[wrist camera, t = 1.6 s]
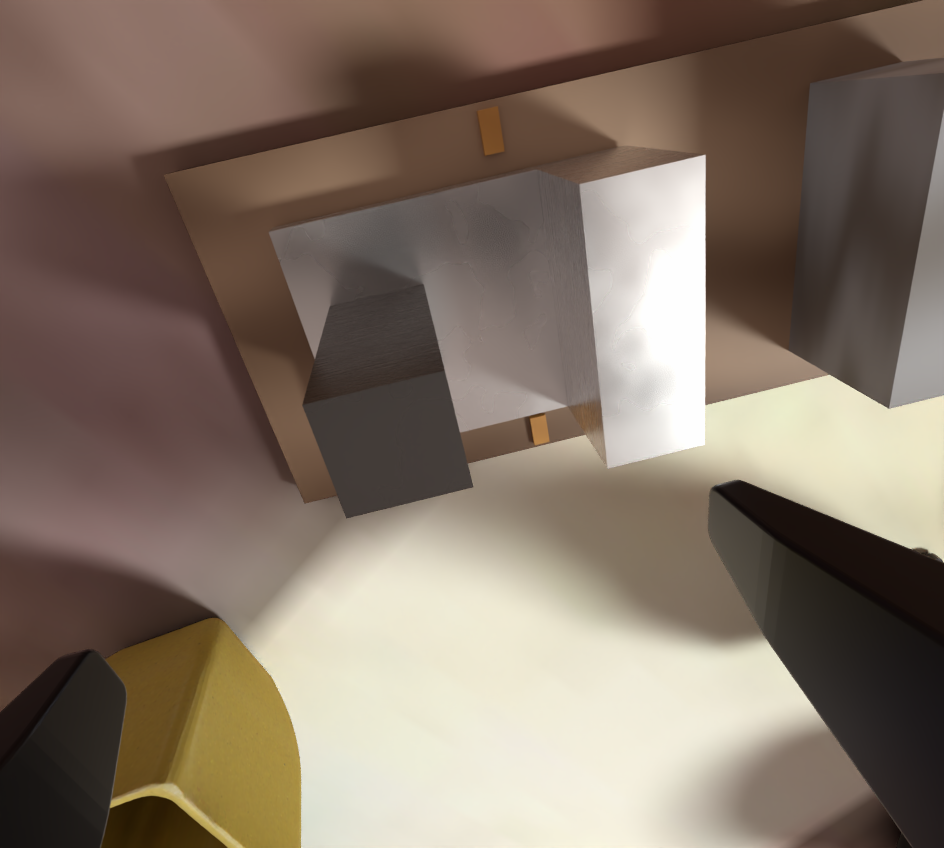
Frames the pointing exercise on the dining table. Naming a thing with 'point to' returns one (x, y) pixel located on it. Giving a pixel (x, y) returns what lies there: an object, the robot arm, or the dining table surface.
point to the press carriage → (503, 318)
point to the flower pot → (203, 747)
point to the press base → (726, 211)
